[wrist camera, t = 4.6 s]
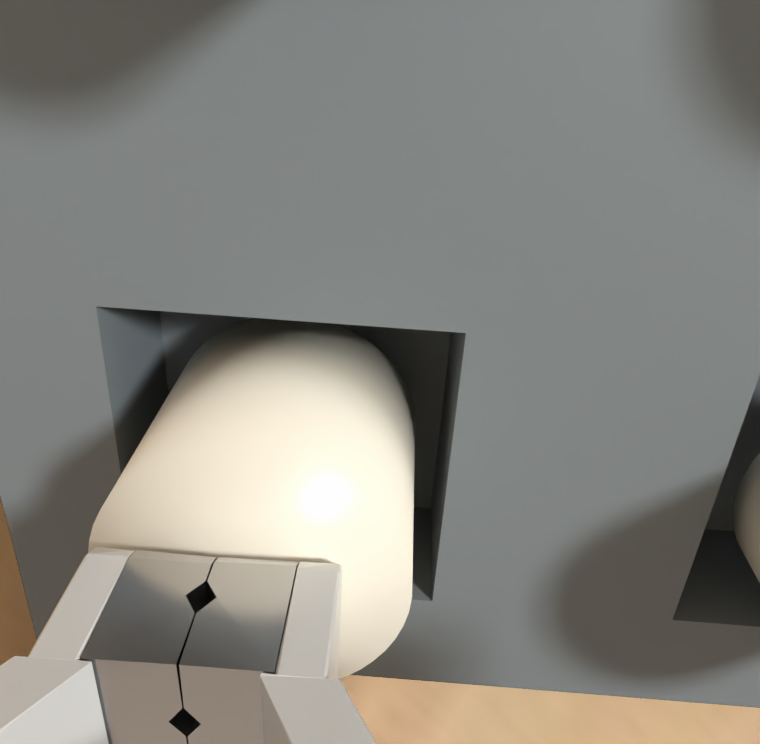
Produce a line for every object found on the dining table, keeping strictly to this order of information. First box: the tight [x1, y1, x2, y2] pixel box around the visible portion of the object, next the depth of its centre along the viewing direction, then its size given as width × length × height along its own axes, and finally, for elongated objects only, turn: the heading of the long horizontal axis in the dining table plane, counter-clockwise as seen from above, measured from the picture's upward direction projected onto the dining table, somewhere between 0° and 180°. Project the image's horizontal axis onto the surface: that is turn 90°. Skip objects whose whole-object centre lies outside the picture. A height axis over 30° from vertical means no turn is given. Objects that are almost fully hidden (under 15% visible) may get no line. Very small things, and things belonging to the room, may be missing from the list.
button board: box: [0, 0, 760, 708], centre depth 10 cm, size 18×18×3 cm
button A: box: [88, 318, 415, 679], centre depth 11 cm, size 4×4×4 cm
